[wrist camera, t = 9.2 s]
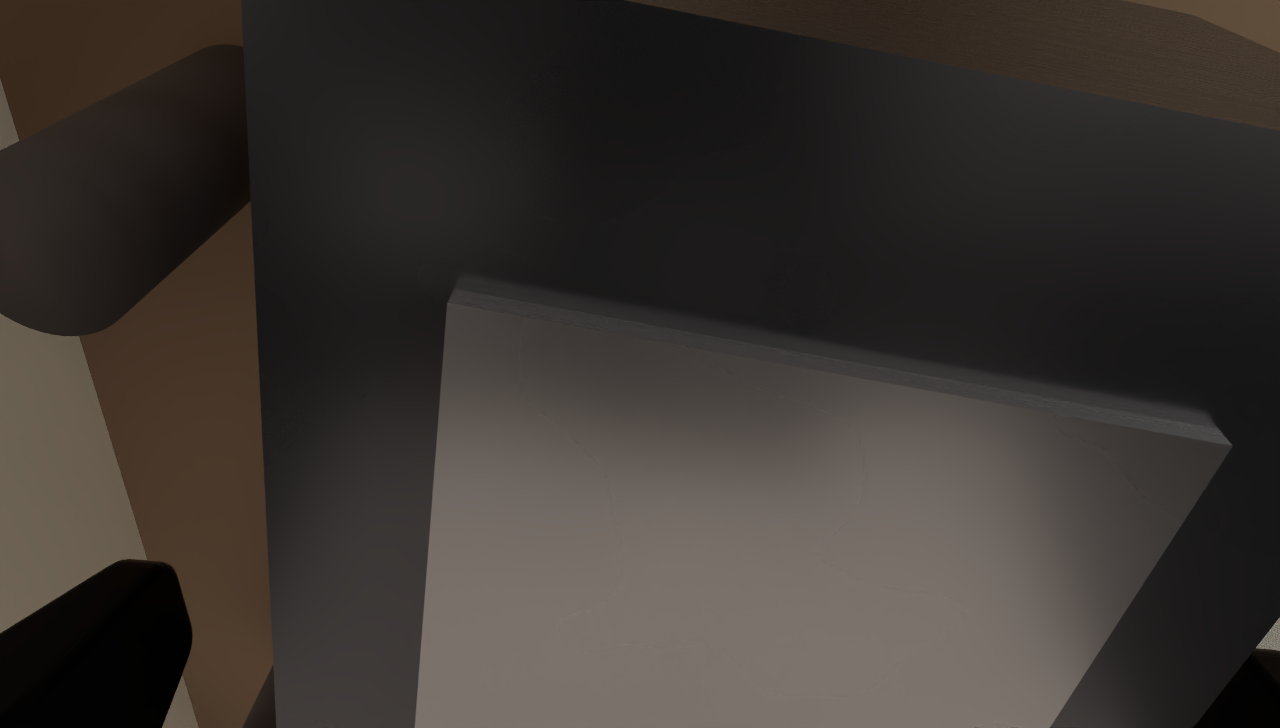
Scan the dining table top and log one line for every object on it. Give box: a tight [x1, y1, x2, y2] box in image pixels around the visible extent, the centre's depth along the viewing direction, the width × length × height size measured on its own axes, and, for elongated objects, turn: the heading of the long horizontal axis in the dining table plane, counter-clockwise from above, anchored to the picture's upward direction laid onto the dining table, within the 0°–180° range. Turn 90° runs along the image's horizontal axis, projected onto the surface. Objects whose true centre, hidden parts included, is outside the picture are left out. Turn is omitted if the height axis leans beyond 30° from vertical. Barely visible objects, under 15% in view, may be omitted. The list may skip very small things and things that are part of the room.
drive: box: [241, 0, 1280, 728], centre depth 8 cm, size 6×10×4 cm, turn 170°
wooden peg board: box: [0, 0, 1280, 728], centre depth 9 cm, size 13×14×4 cm
